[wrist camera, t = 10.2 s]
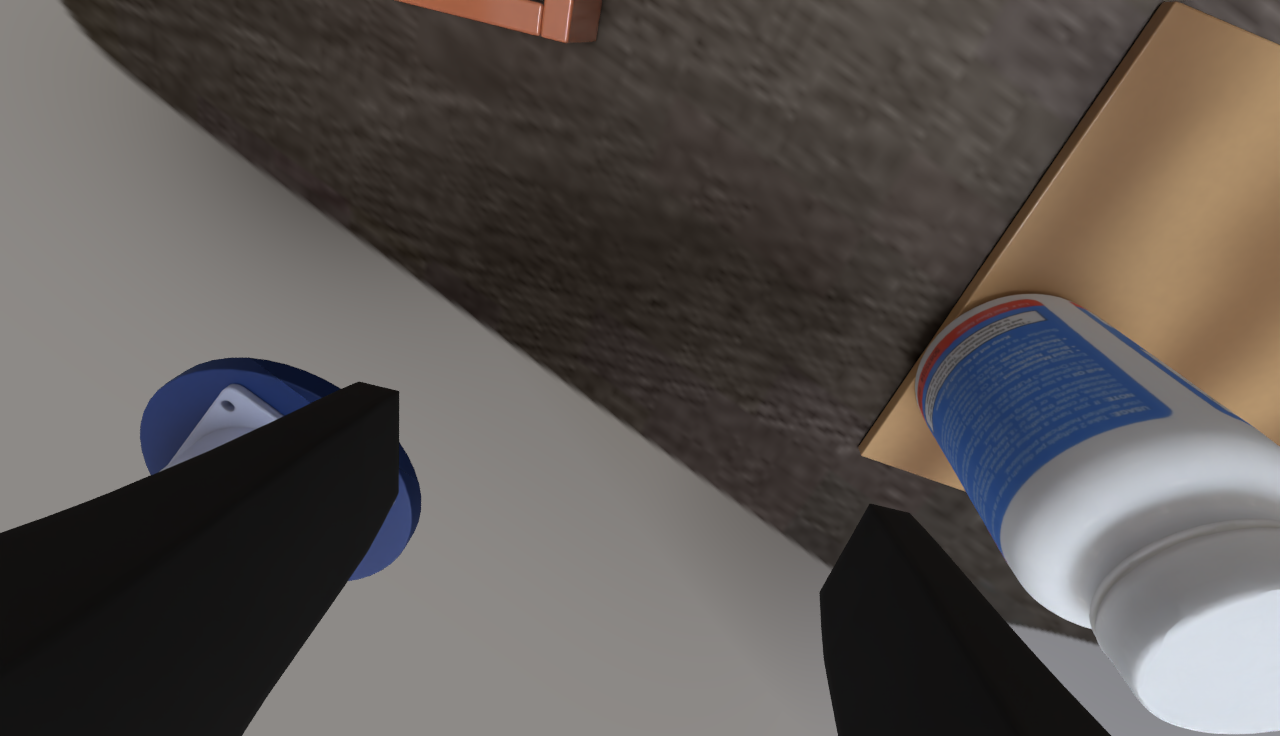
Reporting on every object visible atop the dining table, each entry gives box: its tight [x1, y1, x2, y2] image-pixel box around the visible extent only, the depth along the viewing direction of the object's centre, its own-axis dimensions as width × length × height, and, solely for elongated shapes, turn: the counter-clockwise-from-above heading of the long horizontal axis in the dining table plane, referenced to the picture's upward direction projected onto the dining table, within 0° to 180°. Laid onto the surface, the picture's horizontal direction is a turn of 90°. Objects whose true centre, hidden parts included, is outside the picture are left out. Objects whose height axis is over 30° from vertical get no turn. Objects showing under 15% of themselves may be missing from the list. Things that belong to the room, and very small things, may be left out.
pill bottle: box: [915, 294, 1280, 734], centre depth 14 cm, size 6×5×10 cm
